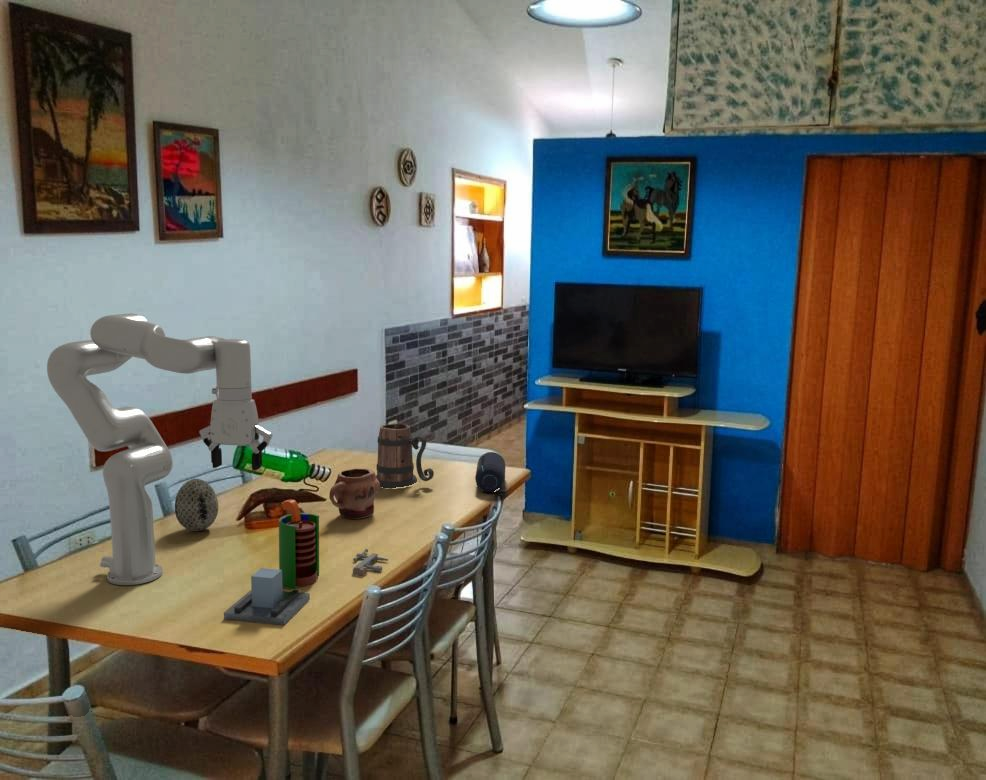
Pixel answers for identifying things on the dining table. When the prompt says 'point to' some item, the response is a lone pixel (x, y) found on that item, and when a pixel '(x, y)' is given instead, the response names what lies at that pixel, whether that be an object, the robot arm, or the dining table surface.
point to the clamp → (367, 563)
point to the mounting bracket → (268, 609)
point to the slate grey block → (266, 588)
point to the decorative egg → (196, 505)
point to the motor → (298, 547)
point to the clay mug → (355, 493)
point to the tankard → (399, 457)
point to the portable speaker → (490, 472)
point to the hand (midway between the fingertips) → (236, 467)
